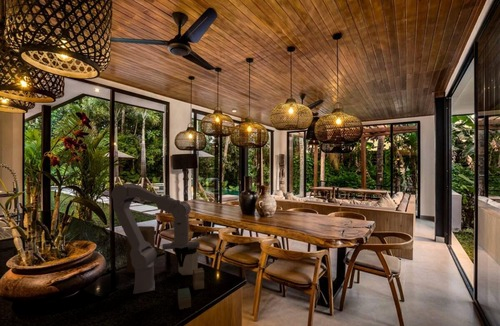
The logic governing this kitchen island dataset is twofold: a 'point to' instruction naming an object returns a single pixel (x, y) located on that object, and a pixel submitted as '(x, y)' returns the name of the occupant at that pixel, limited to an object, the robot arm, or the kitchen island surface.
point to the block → (148, 236)
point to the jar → (189, 261)
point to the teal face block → (184, 298)
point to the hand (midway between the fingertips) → (181, 266)
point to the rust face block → (198, 278)
